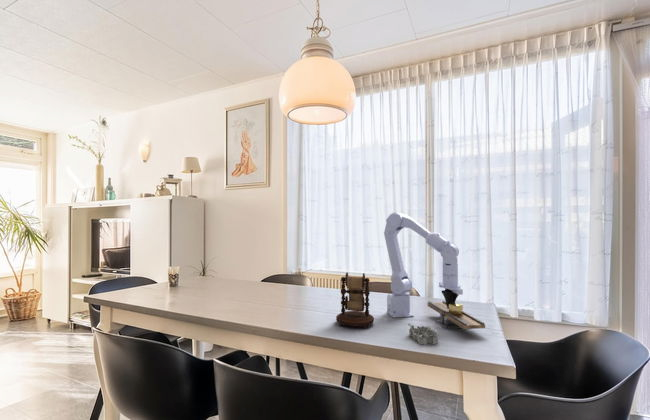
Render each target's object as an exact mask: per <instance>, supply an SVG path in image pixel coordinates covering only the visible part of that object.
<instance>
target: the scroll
mask: <svg viewBox="0 0 650 420" xmlns="http://www.w3.org/2000/svg"><path fill="white" fill-rule="evenodd" d="M340 281H341V285H340V286H341V289H340V294H341V299H340V300H341V301H340V305H341V310H340V313H339V314H337V315H336V317H335V318H336V319H335V321H336V322H337V323H338V324H339V326H340V327H343V325H344V326H351V327H363V328H364V329H367V327H368V326H369V325H372V324H373V323H375V322H374V321H375V317H374V316H373V315H371V314H370V310H369V309H370V302H369V301H370V298H369V297H370V296H369V295H370V292H371V291H370V290H369V289H370V286H369V284H370V281H371V280H370V278H369V277H366V274H365V272H363V274H362V276H349V271H348V272H345V276H342V277H341V278H340ZM364 289H365V290H364ZM346 294H348V295H346ZM345 295H346V296H345Z"/></svg>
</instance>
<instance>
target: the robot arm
mask: <svg viewBox="0 0 650 420" xmlns="http://www.w3.org/2000/svg"><path fill="white" fill-rule="evenodd" d="M403 229H410V230H412V231H413V232H414V233H416V234H418V235H420V236H421V237H422V238H424V240H425V243H426V244H427V245H428V246H429V247H431V248H433V250H435V251H436V252H437V253H440V256H441V257H442V282H438V287H439V288H443V289H444V290H441V293H442V295H443V298H444V301H445V302H446V305H447V309H449V303H456V301H457V299H458V296H459V295H462V296H463V293H464V291H463V288H461V287H462V286H461V285H459V269H458V268H459V267H458V265H459V264H458V255H459V253H460V248H458V246H457V245H456V244H454V243H451V241H450V240H447V239H445V238H444V237H442V236H441V233H440V232H431V231H429V230H428V229H426V228H425V227H424V226H423V225H421V224H420V223H419V222H417V221H416V220H415V219H413V218H412V217H411V216H409V215H407V214H406V213H397V212H392V213H390V214H389V215H388V217H387V218H386V219H385V227H384V232H383V233H384V241H385V245H386V249H387V252H388V259H389V262H390V266H391V268H390V269H391V273H392V274H391V276H390V281H391V283H390V290H391V292H392V293H390V294H387V297H386V313H387V314H389V316H391V317H392V318H406V317H407V318H408V317H409V318H410V317H414V314H413V313H411V292H410V290H411V289H412V287H413V286H412V285H413V284H412V280H411V279H410V277H409V274H408V273H407V271H406V270H405V266H404V261H403V257H402V253H401V249H400V244H399V239H398V234H399V233H400V232H401V230H403Z"/></svg>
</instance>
